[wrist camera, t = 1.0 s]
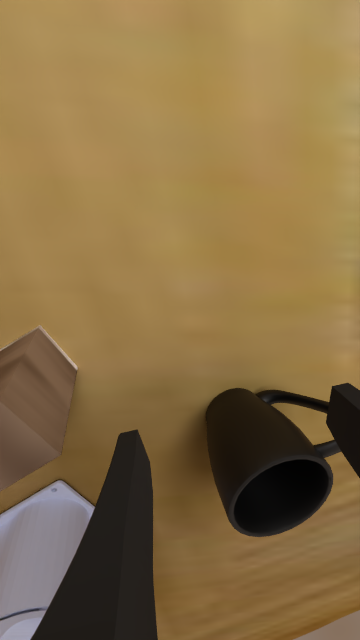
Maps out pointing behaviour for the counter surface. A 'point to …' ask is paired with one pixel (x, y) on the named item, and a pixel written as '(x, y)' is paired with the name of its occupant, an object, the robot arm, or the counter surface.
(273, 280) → the counter surface
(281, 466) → the mug
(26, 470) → the walnut block
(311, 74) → the counter surface
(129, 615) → the robot arm
